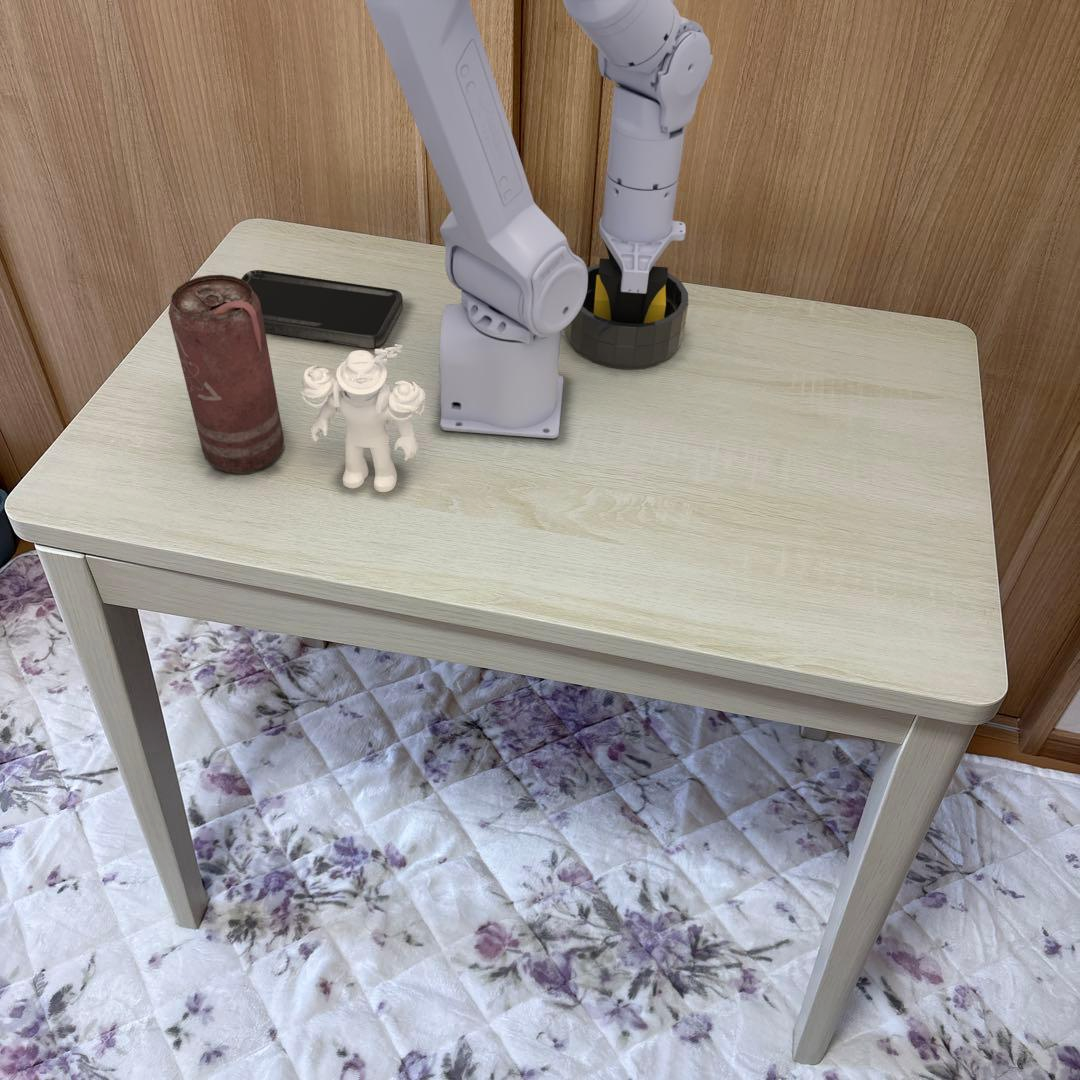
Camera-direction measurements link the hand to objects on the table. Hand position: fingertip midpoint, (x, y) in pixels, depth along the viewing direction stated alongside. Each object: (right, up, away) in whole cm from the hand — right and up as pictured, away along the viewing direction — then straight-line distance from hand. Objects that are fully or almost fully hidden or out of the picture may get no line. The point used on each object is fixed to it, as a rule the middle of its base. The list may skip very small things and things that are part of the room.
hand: (625, 319), depth 93 cm
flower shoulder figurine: (-21, -15, -12) cm, 28 cm away
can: (-30, -13, -11) cm, 35 cm away
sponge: (0, -1, +1) cm, 1 cm away
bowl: (0, -1, +2) cm, 2 cm away
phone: (-28, +1, +2) cm, 28 cm away
